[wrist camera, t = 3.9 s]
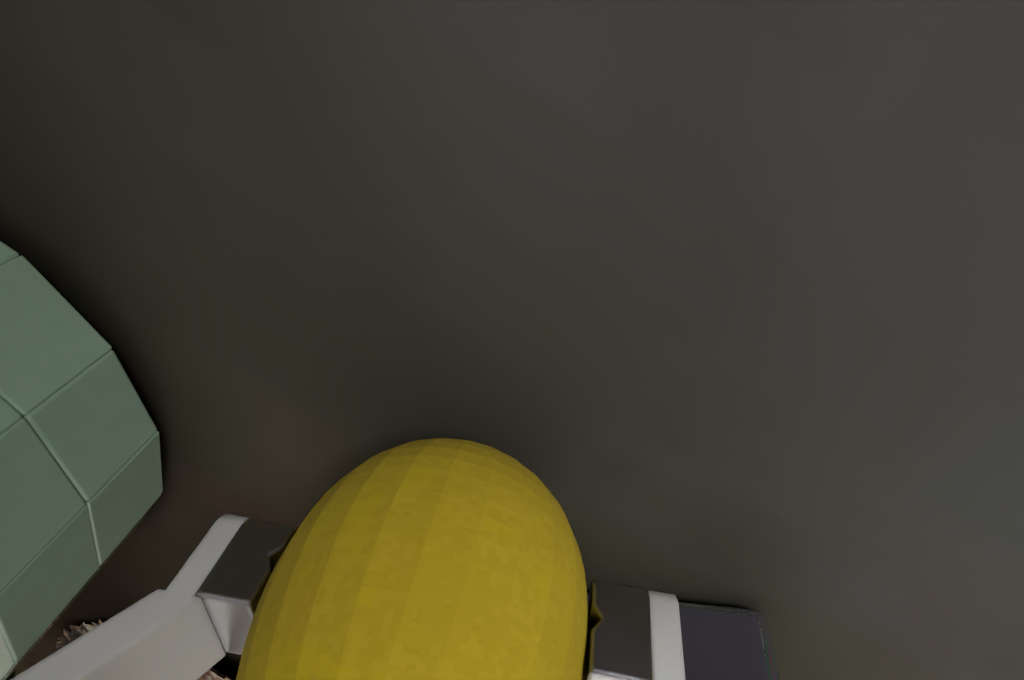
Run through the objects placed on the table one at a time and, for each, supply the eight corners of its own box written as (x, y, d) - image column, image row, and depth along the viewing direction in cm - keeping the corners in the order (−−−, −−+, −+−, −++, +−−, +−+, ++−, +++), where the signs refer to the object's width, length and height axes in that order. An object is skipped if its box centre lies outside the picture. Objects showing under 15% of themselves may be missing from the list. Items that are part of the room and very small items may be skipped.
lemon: (322, 376, 13) (-6, 835, 6) (567, 343, 11) (486, 911, 4) (411, 537, 15) (253, 970, 9) (616, 529, 14) (610, 1046, 7)
